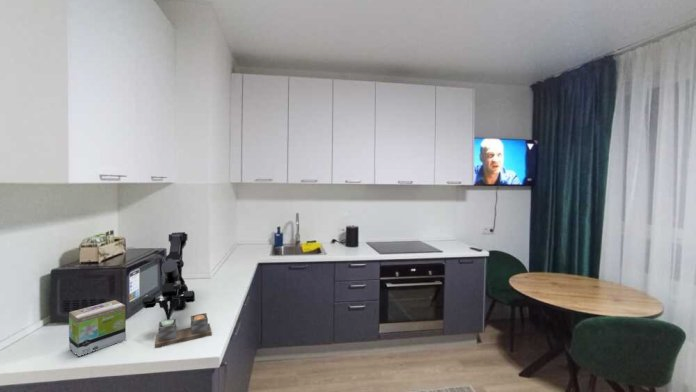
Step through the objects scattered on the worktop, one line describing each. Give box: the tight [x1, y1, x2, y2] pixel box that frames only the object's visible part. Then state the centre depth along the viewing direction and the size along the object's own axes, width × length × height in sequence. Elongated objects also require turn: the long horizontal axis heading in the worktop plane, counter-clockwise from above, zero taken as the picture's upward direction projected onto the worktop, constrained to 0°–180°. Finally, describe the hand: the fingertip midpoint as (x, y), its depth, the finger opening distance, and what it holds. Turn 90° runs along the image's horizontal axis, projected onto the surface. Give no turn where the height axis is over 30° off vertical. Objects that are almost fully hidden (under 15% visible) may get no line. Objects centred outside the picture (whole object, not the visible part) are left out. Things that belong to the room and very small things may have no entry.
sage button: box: [160, 318, 174, 327], centre depth 120 cm, size 4×4×2 cm
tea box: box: [68, 299, 127, 357], centre depth 117 cm, size 15×10×15 cm
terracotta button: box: [194, 314, 205, 320], centre depth 126 cm, size 4×4×2 cm
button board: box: [154, 312, 213, 349], centre depth 123 cm, size 20×8×7 cm, turn 121°
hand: (168, 319), depth 122 cm, fingers closed
